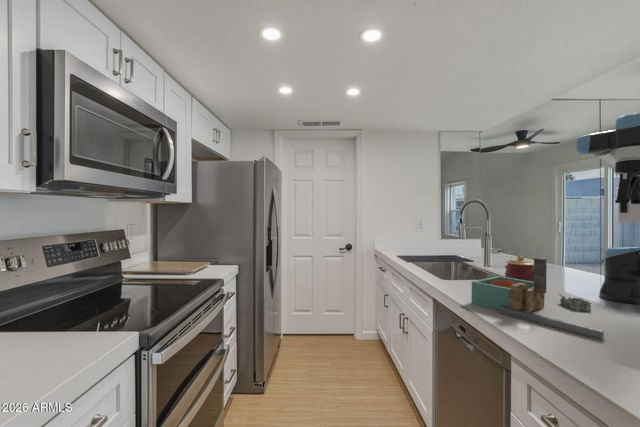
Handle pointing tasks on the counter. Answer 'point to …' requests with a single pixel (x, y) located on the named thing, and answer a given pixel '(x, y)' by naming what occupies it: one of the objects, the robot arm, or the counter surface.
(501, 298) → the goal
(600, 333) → the rail
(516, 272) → the canister
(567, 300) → the egg carton
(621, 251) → the robot arm
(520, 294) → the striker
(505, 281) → the burger
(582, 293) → the counter surface
